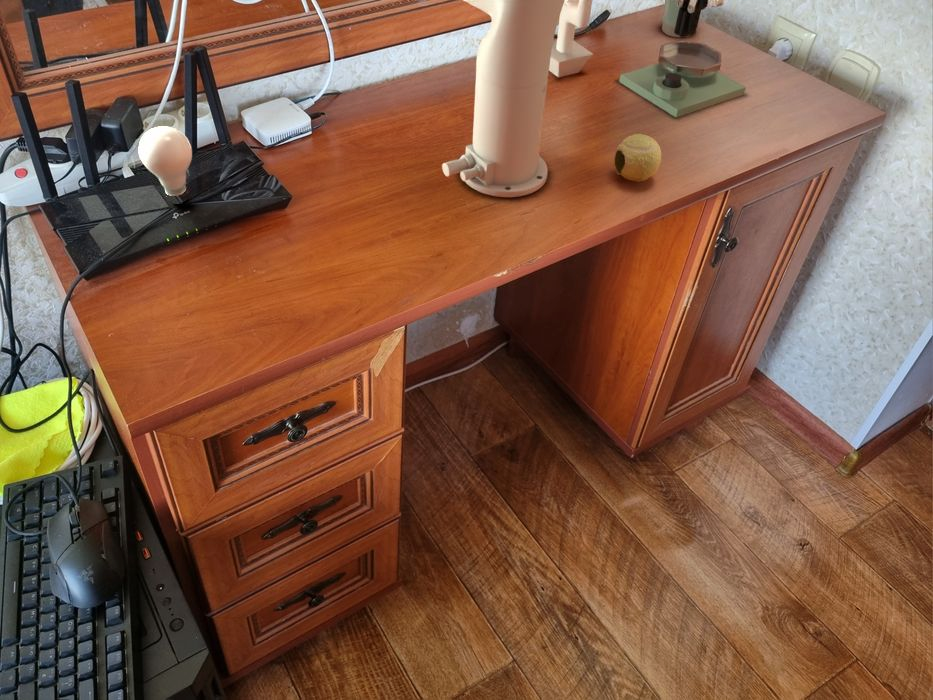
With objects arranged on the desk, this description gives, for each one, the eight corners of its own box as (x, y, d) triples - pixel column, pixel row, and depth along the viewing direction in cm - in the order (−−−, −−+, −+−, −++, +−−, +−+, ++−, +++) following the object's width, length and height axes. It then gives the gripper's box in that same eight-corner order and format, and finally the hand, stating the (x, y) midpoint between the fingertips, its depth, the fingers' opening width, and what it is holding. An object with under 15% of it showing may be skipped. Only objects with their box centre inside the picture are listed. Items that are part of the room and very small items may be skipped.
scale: (675, 117, 127) (680, 100, 125) (619, 82, 135) (622, 65, 133) (743, 94, 134) (748, 78, 132) (685, 61, 142) (689, 45, 140)
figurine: (562, 55, 142) (574, -32, 131) (594, 76, 136) (608, -12, 126) (529, 62, 139) (538, -26, 129) (559, 85, 134) (571, -5, 123)
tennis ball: (647, 164, 117) (657, 124, 112) (663, 189, 112) (673, 148, 108) (606, 167, 116) (614, 126, 111) (620, 192, 112) (629, 151, 107)
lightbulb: (145, 201, 105) (123, 127, 98) (188, 184, 109) (169, 111, 101) (170, 222, 102) (149, 148, 95) (212, 204, 106) (196, 131, 98)
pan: (688, 83, 130) (690, 72, 128) (646, 58, 135) (648, 48, 134) (730, 69, 134) (733, 59, 132) (688, 46, 140) (690, 36, 138)
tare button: (671, 90, 128) (673, 81, 127) (660, 84, 130) (662, 75, 129) (682, 86, 129) (684, 78, 128) (671, 80, 131) (673, 71, 130)
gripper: (658, -106, 113) (634, 21, 126) (735, -75, 105) (701, 58, 118) (695, -113, 116) (668, 11, 129) (773, -83, 108) (736, 47, 121)
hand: (684, 33), depth 123 cm, fingers closed
